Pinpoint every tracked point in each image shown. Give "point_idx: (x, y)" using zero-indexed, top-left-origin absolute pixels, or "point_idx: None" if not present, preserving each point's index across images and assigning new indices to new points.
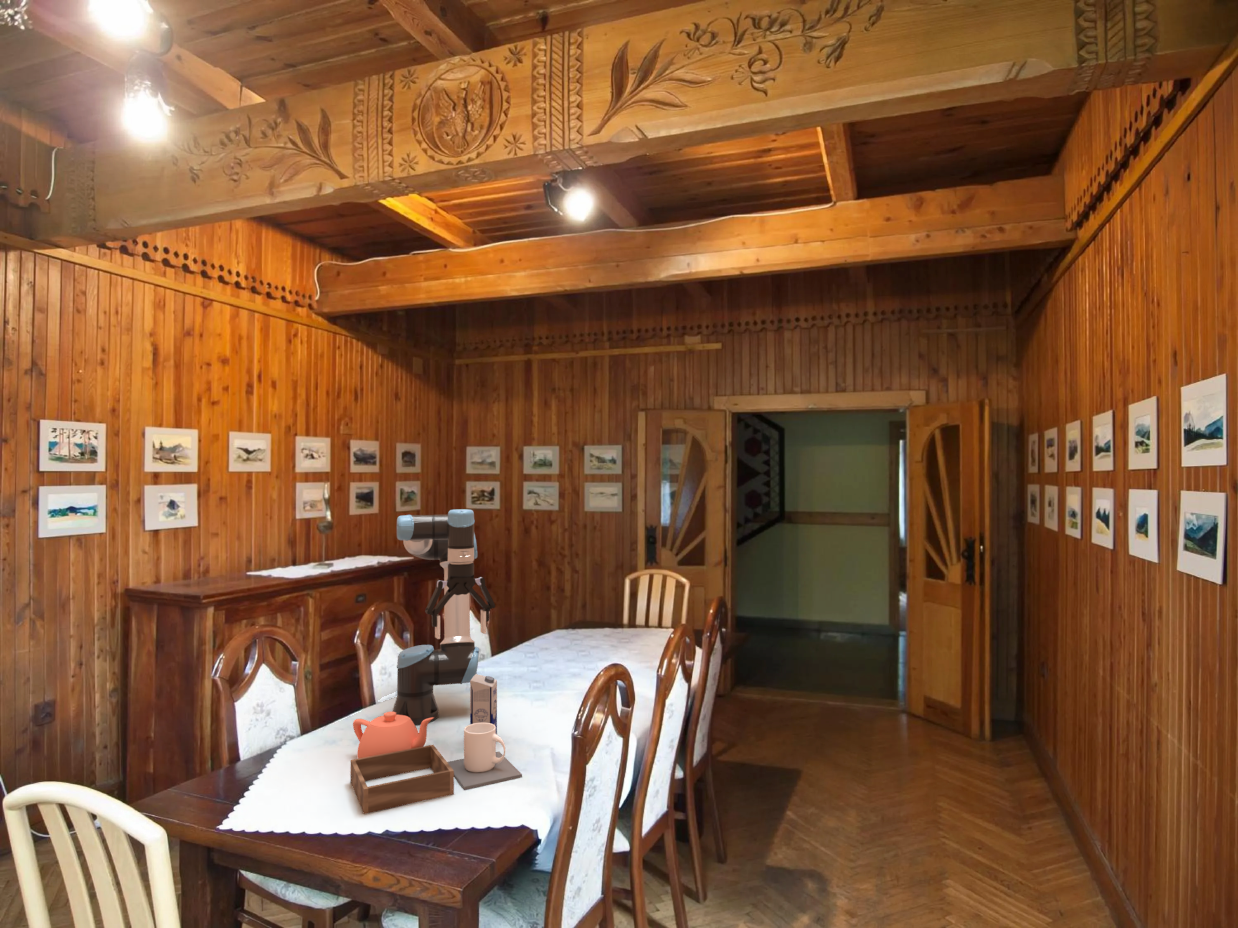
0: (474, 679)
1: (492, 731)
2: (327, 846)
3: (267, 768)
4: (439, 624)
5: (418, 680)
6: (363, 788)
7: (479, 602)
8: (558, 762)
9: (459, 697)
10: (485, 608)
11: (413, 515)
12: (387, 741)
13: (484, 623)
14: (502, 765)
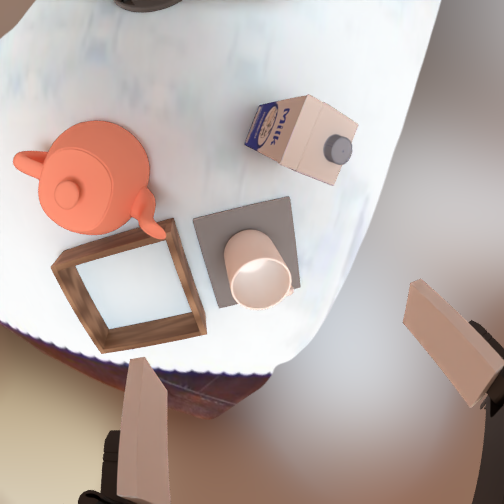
0: (295, 148)
1: (280, 299)
2: (97, 372)
3: None
4: (163, 461)
5: None
6: (100, 351)
7: (481, 464)
8: (356, 251)
9: None
10: (488, 411)
11: None
12: (86, 234)
13: (436, 355)
14: (282, 254)
